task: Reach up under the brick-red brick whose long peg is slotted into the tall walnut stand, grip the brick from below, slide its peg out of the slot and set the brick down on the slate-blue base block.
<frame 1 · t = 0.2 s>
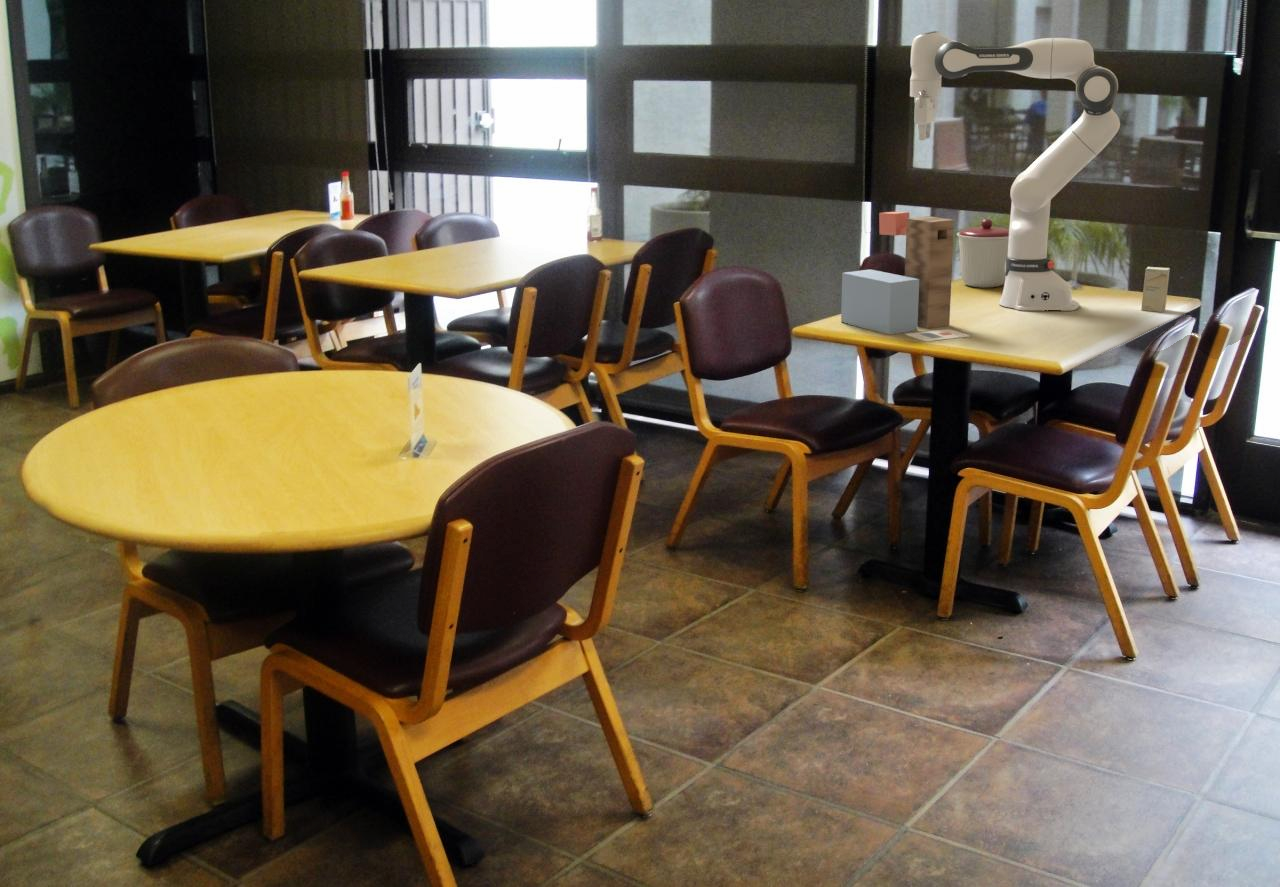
hand: (924, 139, 401), 48 cm above the table, tool pointing down, fingers open, 8 cm apart
canister: (983, 285, 439), on the table
instruction sheet: (937, 335, 367), on the table
stand: (926, 324, 381), on the table
peg brick: (894, 234, 387), point 23 cm above the table, touching stand
base block: (878, 326, 380), on the table
skincare box: (1153, 310, 395), on the table
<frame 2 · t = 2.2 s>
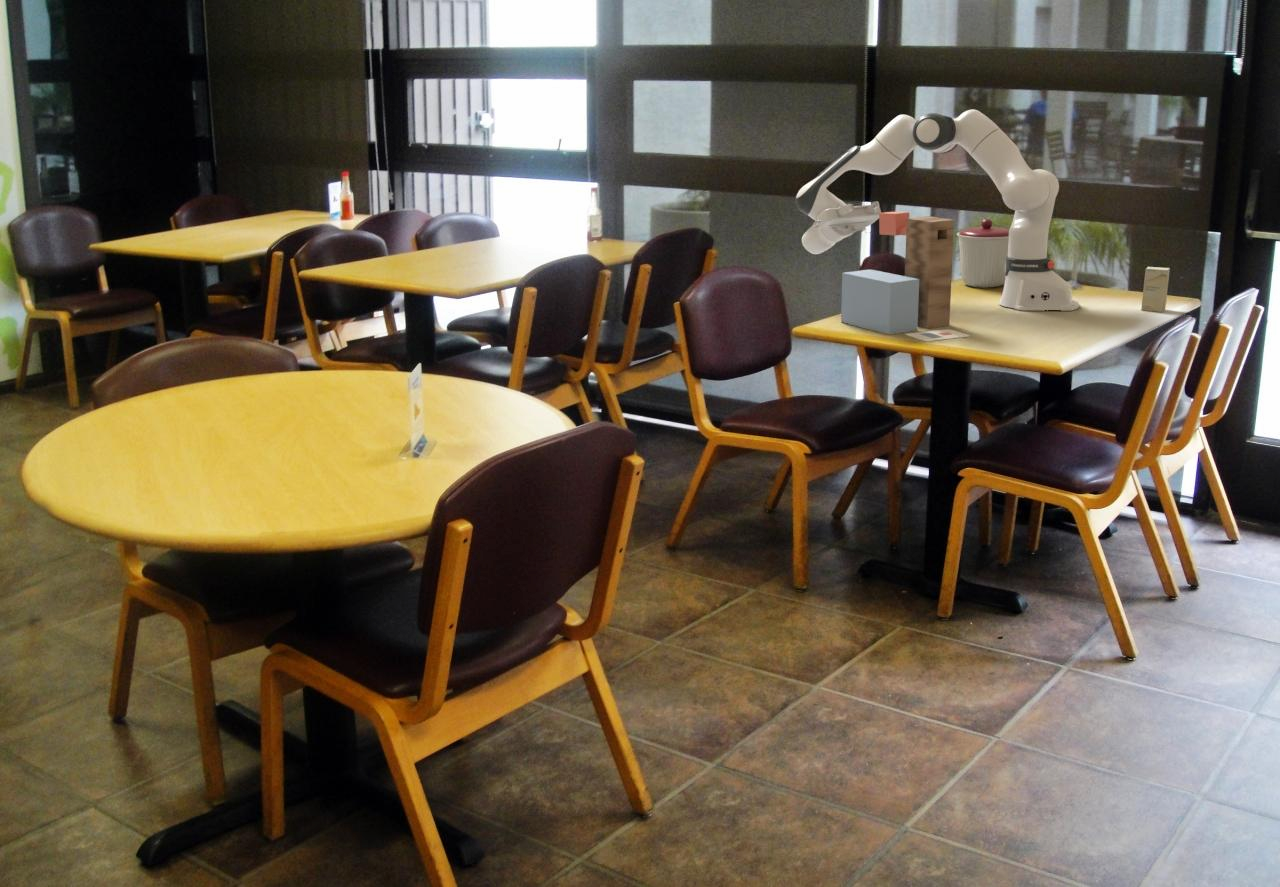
hand: (864, 204, 401), 30 cm above the table, tool pointing upward, fingers open, 8 cm apart
nothing on the table moved.
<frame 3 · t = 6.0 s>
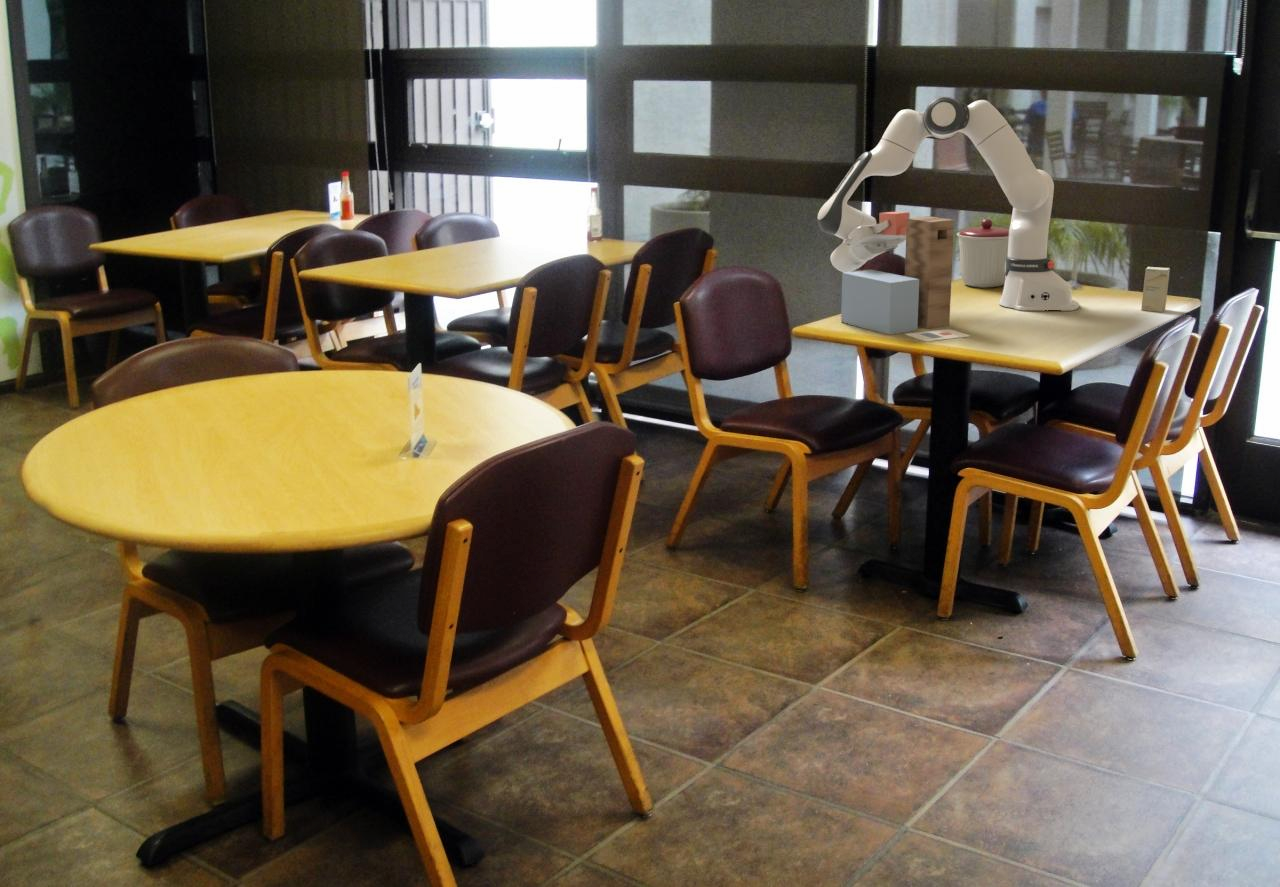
hand: (897, 221, 385), 27 cm above the table, tool pointing upward, fingers closed on peg brick, 5 cm apart
peg brick: (894, 234, 387), point 23 cm above the table, touching gripper, stand
everything else where it was.
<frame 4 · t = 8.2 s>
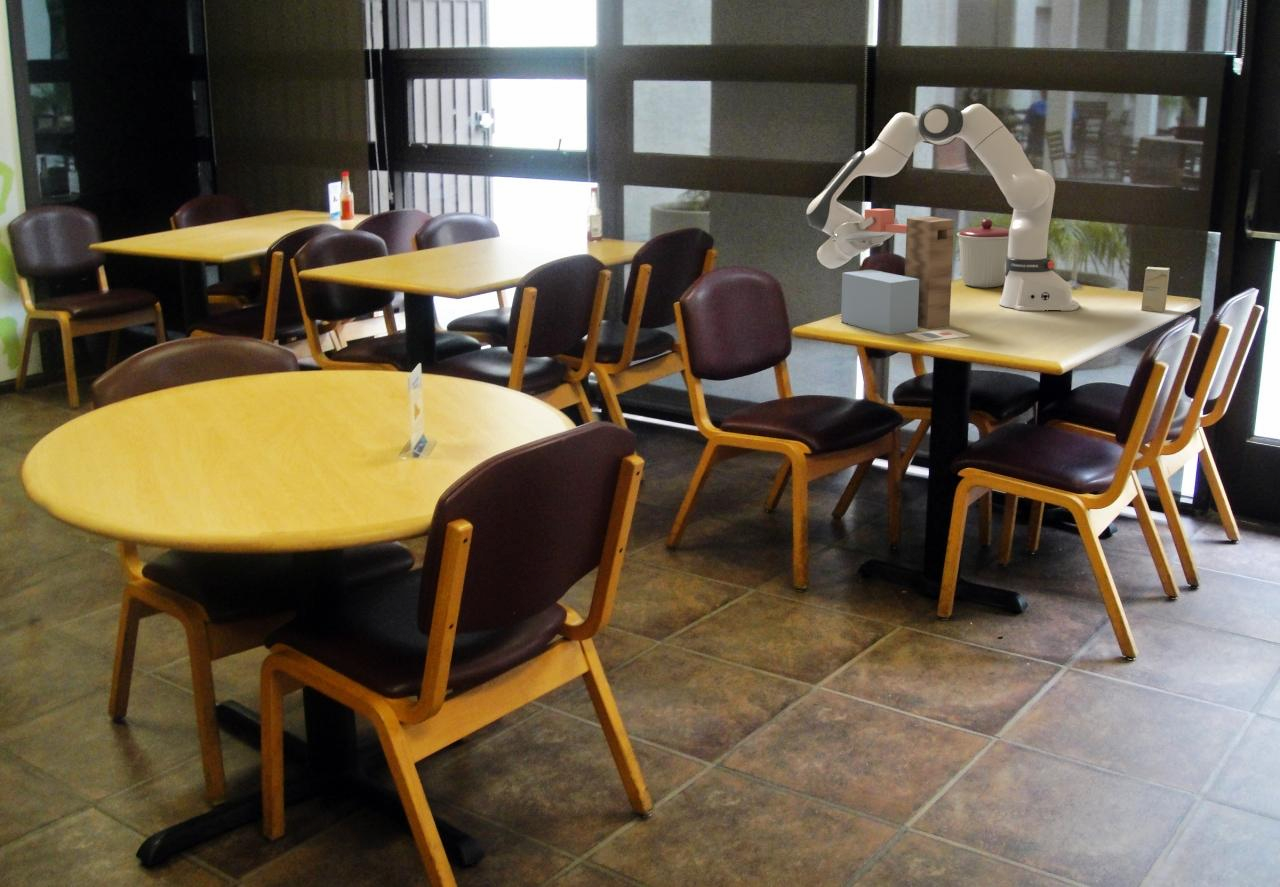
hand: (882, 218, 390), 27 cm above the table, tool pointing upward, fingers closed on peg brick, 5 cm apart
peg brick: (879, 230, 392), point 24 cm above the table, touching gripper
everything else where it was.
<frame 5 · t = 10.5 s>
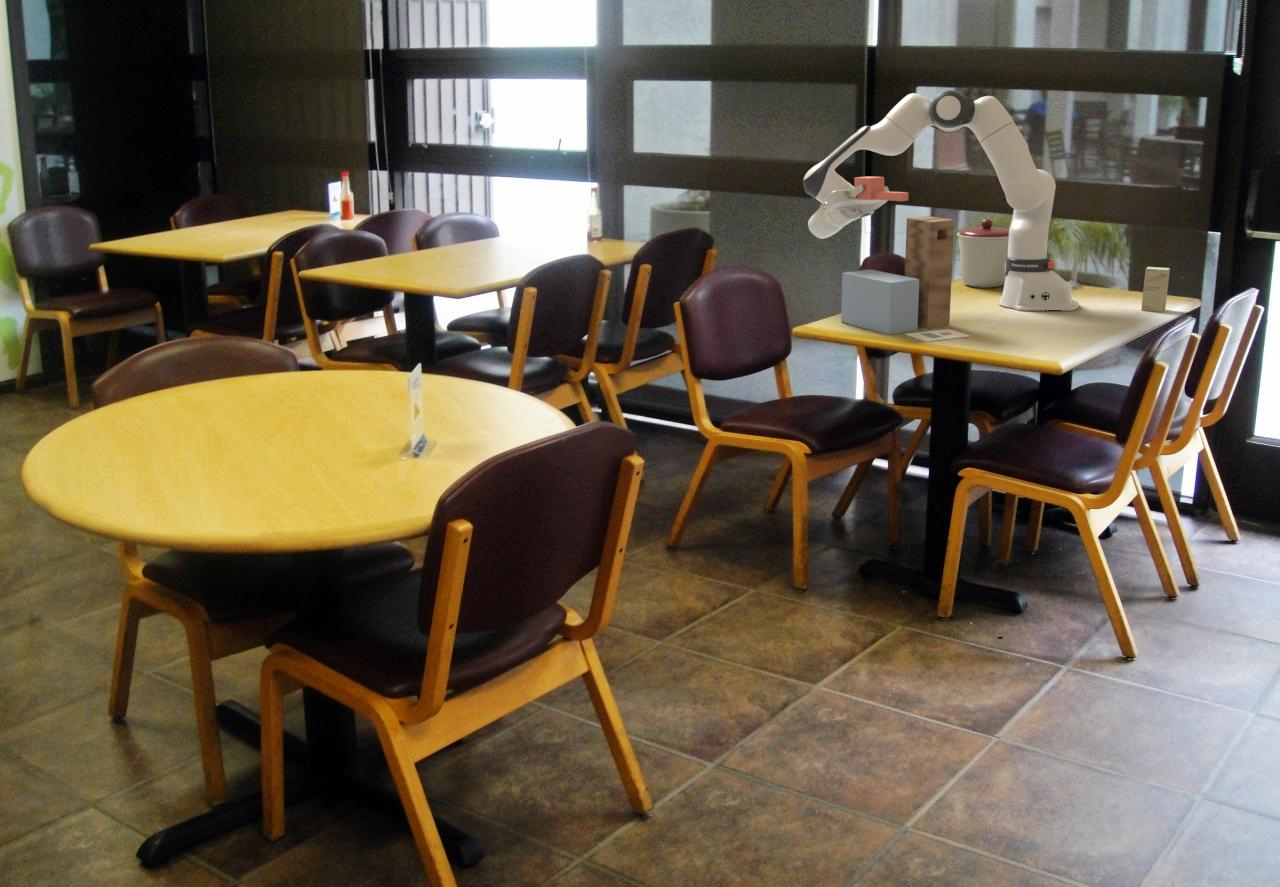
hand: (872, 186, 387), 36 cm above the table, tool pointing upward, fingers closed on peg brick, 5 cm apart
peg brick: (869, 198, 389), point 33 cm above the table, touching gripper
everything else where it was.
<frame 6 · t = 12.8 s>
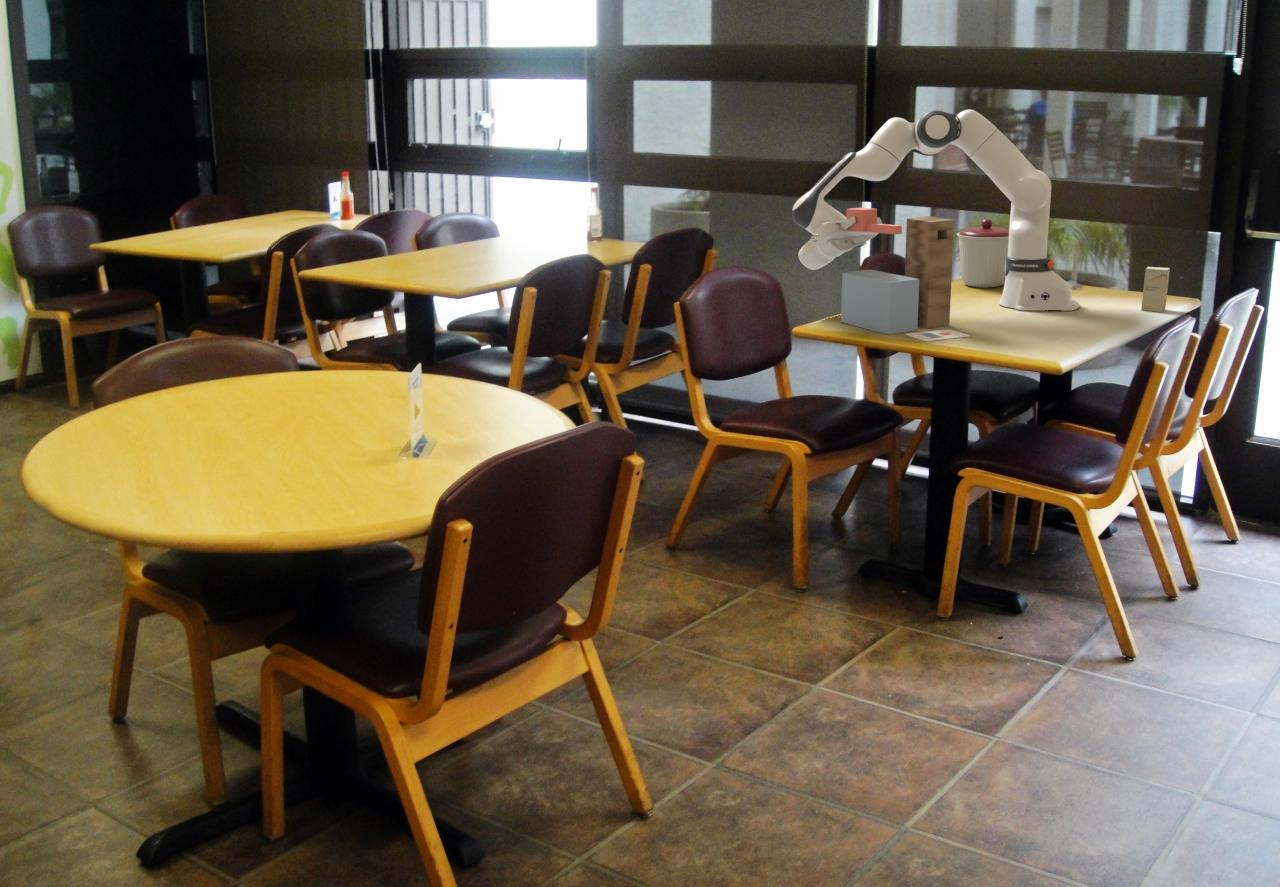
hand: (865, 218, 378), 29 cm above the table, tool pointing upward, fingers closed on peg brick, 5 cm apart
peg brick: (861, 230, 380), point 25 cm above the table, touching gripper
everything else where it was.
when the fingers open (20 cm above the table, at t = 14.8 s): peg brick drops 3 cm, resting on base block.
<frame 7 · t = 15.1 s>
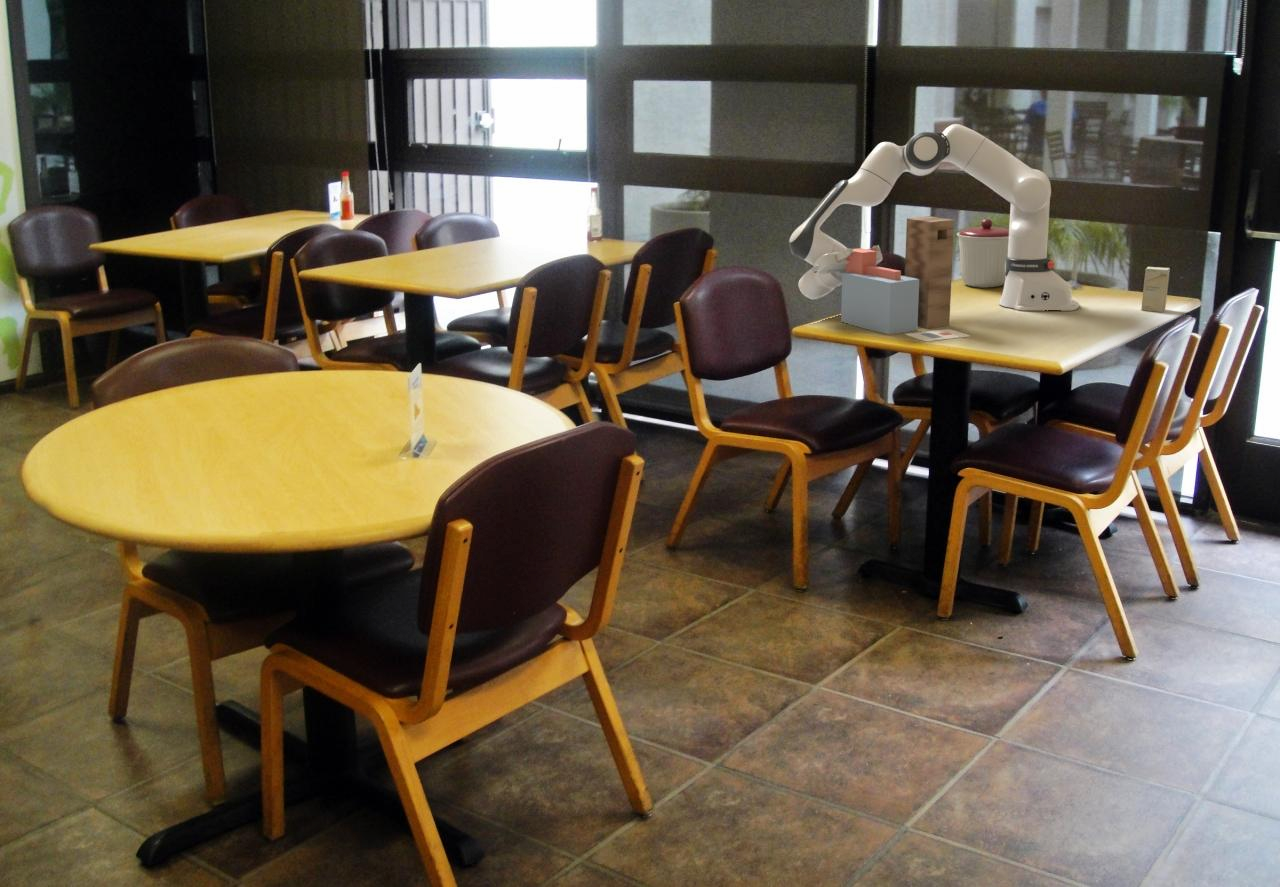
hand: (864, 249, 380), 20 cm above the table, tool pointing upward, fingers open, 8 cm apart
peg brick: (860, 271, 383), point 14 cm above the table, touching base block
everything else where it was.
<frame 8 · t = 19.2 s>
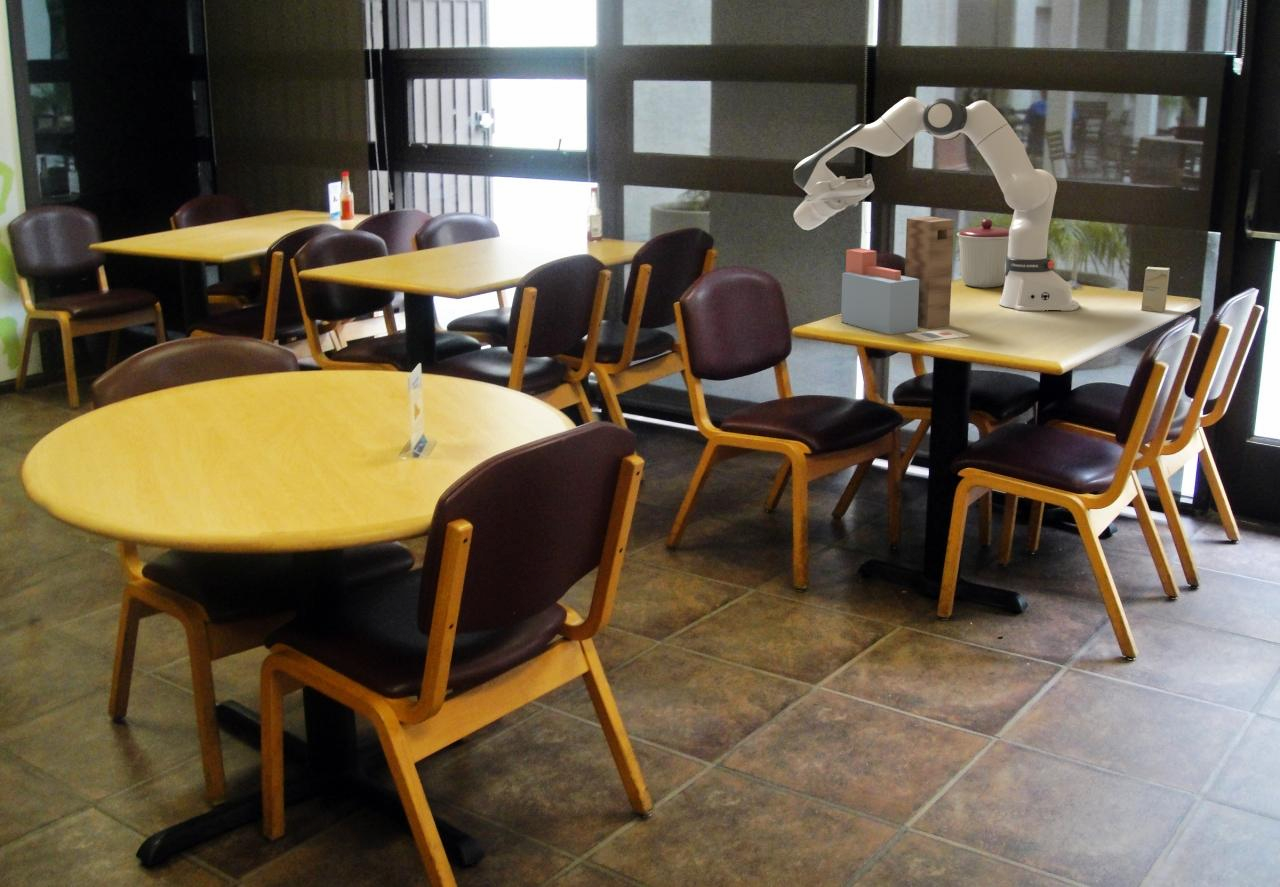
hand: (856, 177, 392), 38 cm above the table, tool pointing upward, fingers open, 8 cm apart
nothing on the table moved.
at the end: peg brick inside the target area on the base block (0.2 cm from its centre), point 14.0 cm above the base block's base; the gripper is holding nothing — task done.
